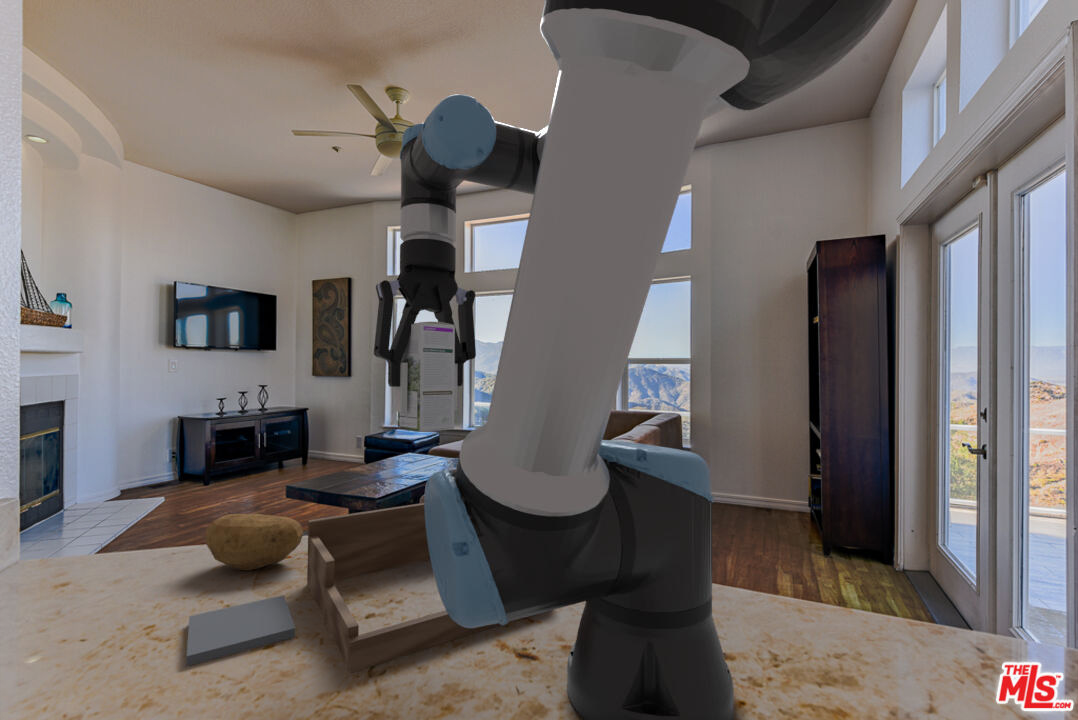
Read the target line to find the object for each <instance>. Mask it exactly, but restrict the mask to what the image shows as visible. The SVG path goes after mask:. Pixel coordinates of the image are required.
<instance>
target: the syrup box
mask: <svg viewBox="0 0 1078 720" xmlns="http://www.w3.org/2000/svg"><path fill="white" fill-rule="evenodd" d="M455 328H456V325H455V324H454V325H452V324H448V323H443V322H438V321H420V322H419V321H418V322H415V323H414V324H411V334H410V337H409V340H408V343H407V346H406V349H405V351H404V354H403V357H402V360H401V363H408V374H407V413H400V412H397V428H398V429H401V430H402V429H403V430H407V431H413V432H438V431H439V432H441V431H448V430H449V431H450V430H455V411H454V365H455Z"/></svg>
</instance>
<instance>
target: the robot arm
mask: <svg viewBox="0 0 1078 720" xmlns="http://www.w3.org/2000/svg"><path fill="white" fill-rule="evenodd" d="M892 2H893V0H544V3H543V10H542V15H541V21H540V27H539V30H540V34H541V35H542V38H543V39H544V41H545V42H546V44H547V46H548V48H549V50H550V52H551V54H552V56H553V57H554V60H555V61H556V65H557V69H558V76H557V80H556V87H555V89H554V90H555V91H554V96H553V100H552V104H551V105H552V106H551V111H550V115H549V119H548V124H547V125H546V126H545V127H543V128H542V129H541V130H539V131H533V130H529V129H525V128H521V127H517V126H513V125H510V124H506V123H503V122H499V121H495V119H494V117H493V115H492V113H491V111H490V110H489V109H488V107H486V106H484V105H483V104H482V103H481V102H479V101H478V99H477V98H475V97H473V96H471V95H468V94H463V93H462V94H460V93H458V94H457V93H456V94H452V95H449V96H446V97H445V98H443V99H442V100H440V102H439V103H438V104H437V105H436V106H435V107H434V108H433V109H432V111H430V113H429V114H428V115H427V117H426V118H425V121H424V122H421V123H417V124H414V125H413V126H410V127H407V128H406V129H405V130H404V132H403V135H402V137H401V150H400V152H399V159H400V235H399V236H400V237H399V238H400V239H401V240H402V243H400V245H399V275H398V276H397V278H396V279H395V280H382V281H380V282H378V283H377V284H376V285H375V291H376V294H377V298H378V309H377V316H376V317H377V319H376V327H375V337H374V346H373V355H374V356H375V357H376V358H380V359H382V360H385V361H386V362H387V366H388V367H387V371H388V372H387V383H388V386H389V387H393V388H394V412H396V413H398V412H400V413H407V374H408V363H401V360H402V357H403V354H404V351H405V349H406V346H407V343H408V340H409V337H410V334H411V324H414V323H416V320H417V317H418V315H419V314H420V312H421V311H427V312H430V313H433V314H434V317H435V319H436V320H437V322H443V323H448V324H452V325H455V322H454V321H455V320H454V318H453V309H452V306H451V303H450V302H451V301H452V299H453V298H456V300H455V301H456V303H457V318H458V319H457V320H458V332H459V335H458V332H457V329H456V327H455V365H454V412H455V411H458V387H462V385H463V383H464V364H465V363H466V362H468V361H471V360H475V358H476V356H477V350H476V335H475V324H474V323H475V322H474V308H473V307H474V303H475V298H476V291H474V290H473V289H472V290H471V289H469V290H466V289H463V288H460V287H459V286H458V283H457V281H456V269H457V268H456V263H457V262H456V260H457V259H456V257H457V256H456V254H457V251H456V250H457V249H456V247H455V246H454V244H455V243H456V242H457V188H458V187H459V186H460V185H461V184H462V183H463V182H464V181H465V182H469V183H475V184H480V185H485V186H490V187H495V188H501V189H506V190H510V191H515V192H519V193H520V192H521V193H524V194H529V195H533V197H532V202H531V207H530V212H529V217H528V221H527V226H526V231H525V236H524V241H523V245H522V249H521V256H520V260H519V266H518V269H517V274H516V278H515V279H516V280H515V282H514V283H515V284H514V289H513V293H512V294H513V295H512V298H511V304H510V308H509V311H508V312H509V313H508V317H507V321H506V327H505V333H504V337H503V342H502V347H501V351H500V357H499V361H498V365H497V366H498V367H497V370H496V371H497V372H496V375H495V381H494V384H493V388H492V389H493V390H492V394H491V400H490V404H489V409H488V414H487V419H486V423H484V424H482V425H479V426H478V427H476V428H474V429H473V430H471V431H470V432H469V433H468V434H467V435H466V436H465V437H464V439H463V440H462V443H461V445H460V449H459V455H458V460H457V465H456V467H455V468H456V469H450V470H449V469H448V468H442V469H441V470H440V471H436V472H434V473H433V474H432V475H430V476H429V477H428V479H427V481H426V484H425V486H424V487H425V488H424V496H423V497H424V501H423V503H424V511H425V525H426V534H427V541H428V548H429V553H430V559H431V560H430V563H431V568H432V572H433V576H434V580H435V584H436V587H437V591H438V593H439V594H438V595H439V597H440V600H441V602H442V604H443V607H444V609H445V610H446V611H447V613H448V614H449V616H450V617H451V618H452V620H453V621H455V622H457V624H459V625H460V626H463V627H465V628H476V627H481V626H486V625H491V624H497V623H499V624H500V625H501V626H505V625H508V623H509V622H512V621H515V620H520V619H524V618H527V617H531V616H534V615H539V614H542V613H547V612H549V611H554V610H558V609H560V608H565V607H568V606H572V605H577V604H580V603H584V602H585V605H584V607H583V612H582V614H581V617H580V618H581V619H580V620H579V621H580V622H579V625H578V628H577V635H576V639H575V642H574V643H573V645H572V646H571V648H570V651H569V654H568V659H567V668H566V670H567V671H566V673H567V675H566V676H567V679H566V681H567V682H566V685H567V687H566V688H567V694H568V698H569V700H570V702H571V704H572V706H573V708H574V709H575V710H576V712H577V713H578V715H580V717H581V718H582V719H583V720H733V718H734V713H735V712H734V711H735V702H734V701H735V698H734V697H735V696H734V695H735V693H734V692H735V691H734V682H733V676H732V674H731V670H730V668H729V666H728V664H727V662H726V660H725V655H724V652H723V649H722V648H723V647H722V644H721V642H720V638H719V634H718V631H717V627H716V625H715V621H714V618H713V503H714V500H715V499H714V497H713V494H712V485H711V471H710V467H709V465H708V463H707V462H706V460H705V459H704V458H703V457H702V456H700V455H699V454H697V453H695V452H692V451H688V450H682V449H679V448H673V447H665V446H658V445H653V444H646V443H637V442H629V441H622V440H621V441H620V440H610V439H603V438H604V436H605V432H606V429H607V426H608V423H609V420H610V419H609V418H610V416H611V413H612V409H613V407H614V403H615V401H616V400H615V399H616V397H617V394H618V390H619V387H620V385H621V381H622V377H623V375H624V371H625V368H626V365H627V361H628V359H629V356H630V352H631V349H632V345H633V344H634V339H635V337H636V333H637V330H638V327H639V323H640V321H641V317H642V314H643V312H644V308H645V305H646V301H647V298H648V295H649V292H650V290H651V286H652V283H653V279H654V276H655V273H656V270H657V267H658V263H659V260H660V257H661V254H662V250H663V248H664V244H665V241H666V238H667V236H668V232H669V230H670V229H669V228H670V226H671V222H672V219H673V217H674V213H675V210H676V207H677V203H678V201H679V197H680V194H681V191H682V189H683V188H682V187H683V184H684V181H685V177H686V174H687V171H688V169H689V165H690V162H691V158H692V155H693V152H694V149H695V146H696V143H697V140H698V136H699V134H700V131H701V127H702V124H703V121H704V120H706V119H708V118H711V117H713V116H714V115H716V114H719V113H720V112H722V111H725V110H726V109H728V108H729V109H731V110H734V111H737V112H742V113H745V112H751V111H755V110H757V109H760V108H761V107H763V106H766V105H768V104H770V103H773V102H774V101H776V100H779V99H781V98H783V97H785V96H788V95H789V94H791V93H793V92H796V91H797V90H799V89H801V88H803V87H804V86H805V85H807V84H808V83H811V82H812V81H814V80H815V79H817V78H819V77H821V76H822V75H823V74H824V73H826V72H827V71H828V70H830V69H831V68H832V67H834V66H835V65H837V64H838V63H839V62H840V61H841V60H842V59H844V58H845V57H847V55H848V54H849V53H850V52H851V51H852V50H853V49H855V48H856V47H857V46H858V45H859V44H860V42H862V41H863V40H864V38H865V37H867V36H868V35H869V34H870V32H871V31H872V30H873V28H874V27H875V25H877V23H878V21H880V19H881V18H882V16H884V14H885V12H886V11H887V10H888V8H889V6H890V5H891V4H892ZM397 291H399V292H400V294H401V295H402V297H403V299H404V300H405V304H404V306H403V310H402V315H401V318H400V320H399V323H398V326H397V329H396V332H395V335H394V337H393V341H392V343H391V345H390V341H391V330H392V321H393V320H392V319H393V310H394V302H395V301H394V297H396V296H397Z"/></svg>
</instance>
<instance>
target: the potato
mask: <svg viewBox="0 0 1078 720" xmlns="http://www.w3.org/2000/svg"><path fill="white" fill-rule="evenodd" d="M303 529H304V528H303V526H302V525H301V523H300V522H298V521H297V520H295V519H293V518H290V517H289V516H288V517H287V516H280V515H279V516H277V515H271V514H270V515H269V514H261V513H249V514H248V513H233V514H232V513H231V514H226V515H225V514H224V515H223V516H220V517H217V519H215V520H213V522H211V524H210V525H208V526H207V528H206V532H205V534H204V537H205V543H206V546H207V548H208V550H209V551H210V552H211V555H212V556H213V559H215V560H216V561H218V562H219V563H221V564H224V565H226V566H229V567H231V568H234V569H237V570H241V571H242V570H243V571H252V570H257V569H260V568H262V567H265V566H269V565H273V564H278V563H280V562H281V561H284V560H285V559H286V558H287V557H288V556H289V555H290V554H291V553H292V552H294V550H296V548H298V546H299V545H300V544H301V543H302V539H303V535H304V530H303Z"/></svg>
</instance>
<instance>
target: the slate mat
mask: <svg viewBox="0 0 1078 720" xmlns="http://www.w3.org/2000/svg"><path fill="white" fill-rule="evenodd" d="M293 638H296V626H295V622H294V620H293V616H292V615H291V611H290V608H289V607H288V603H287V600H286V597H285V594H282V595H278V596H274V597H270V598H265V599H261V600H260V599H259V600H255V601H252V602H247V603H242V604H239V605H232V606H229V607H225V608H221V609H216V610H212V611H211V610H210V611H206V612H201V613H198V614H193V615H189V617H188V632H187V643H186V644H187V645H186V647H187V648H186V667H188V666H192V665H193V666H194V665H197V664H200V663H204V662H208V661H211V660H214V659H218V658H222V657H226V656H230V655H234V654H238V653H241V652H244V651H248V650H252V649H256V648H260V647H263V646H266V645H270V644H274V643H277V642H282V641H285V640H289V639H293Z"/></svg>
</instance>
